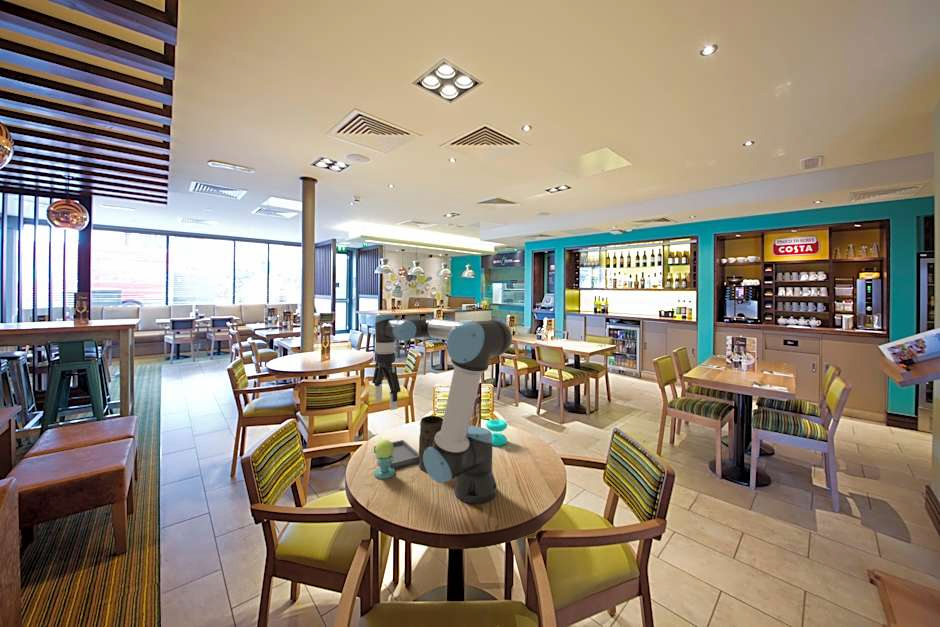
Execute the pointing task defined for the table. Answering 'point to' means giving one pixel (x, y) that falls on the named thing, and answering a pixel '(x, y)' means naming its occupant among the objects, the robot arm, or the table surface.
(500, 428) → the donuts
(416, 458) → the tray
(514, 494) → the table surface
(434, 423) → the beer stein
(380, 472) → the goblet
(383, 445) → the ball
